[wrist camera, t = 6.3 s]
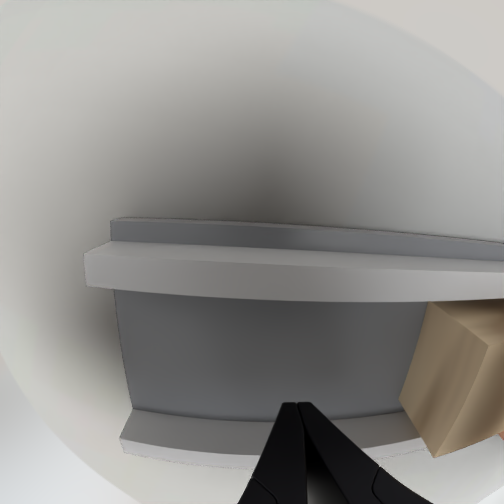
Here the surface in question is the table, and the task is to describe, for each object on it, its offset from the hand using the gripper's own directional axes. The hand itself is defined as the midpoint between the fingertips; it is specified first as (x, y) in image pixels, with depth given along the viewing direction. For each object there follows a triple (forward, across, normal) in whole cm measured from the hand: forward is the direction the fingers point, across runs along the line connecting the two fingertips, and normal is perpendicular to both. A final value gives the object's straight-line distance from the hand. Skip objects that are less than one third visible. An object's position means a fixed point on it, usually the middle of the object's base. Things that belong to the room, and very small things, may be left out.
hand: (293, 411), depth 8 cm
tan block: (+3, -8, 0) cm, 9 cm away
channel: (+4, -3, 0) cm, 5 cm away
